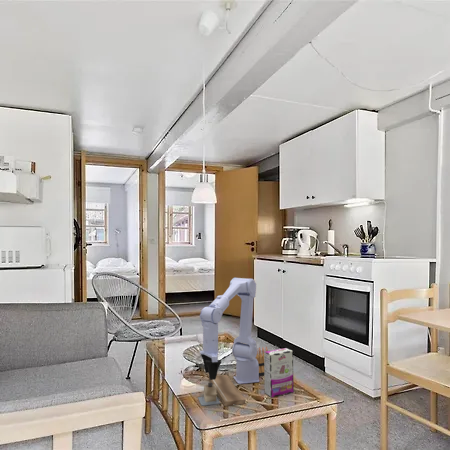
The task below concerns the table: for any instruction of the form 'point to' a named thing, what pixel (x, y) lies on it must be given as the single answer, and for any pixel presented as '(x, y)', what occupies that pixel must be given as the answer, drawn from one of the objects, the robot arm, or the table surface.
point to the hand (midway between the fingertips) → (210, 375)
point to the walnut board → (227, 391)
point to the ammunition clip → (261, 360)
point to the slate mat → (208, 402)
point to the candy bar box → (278, 372)
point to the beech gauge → (209, 392)
